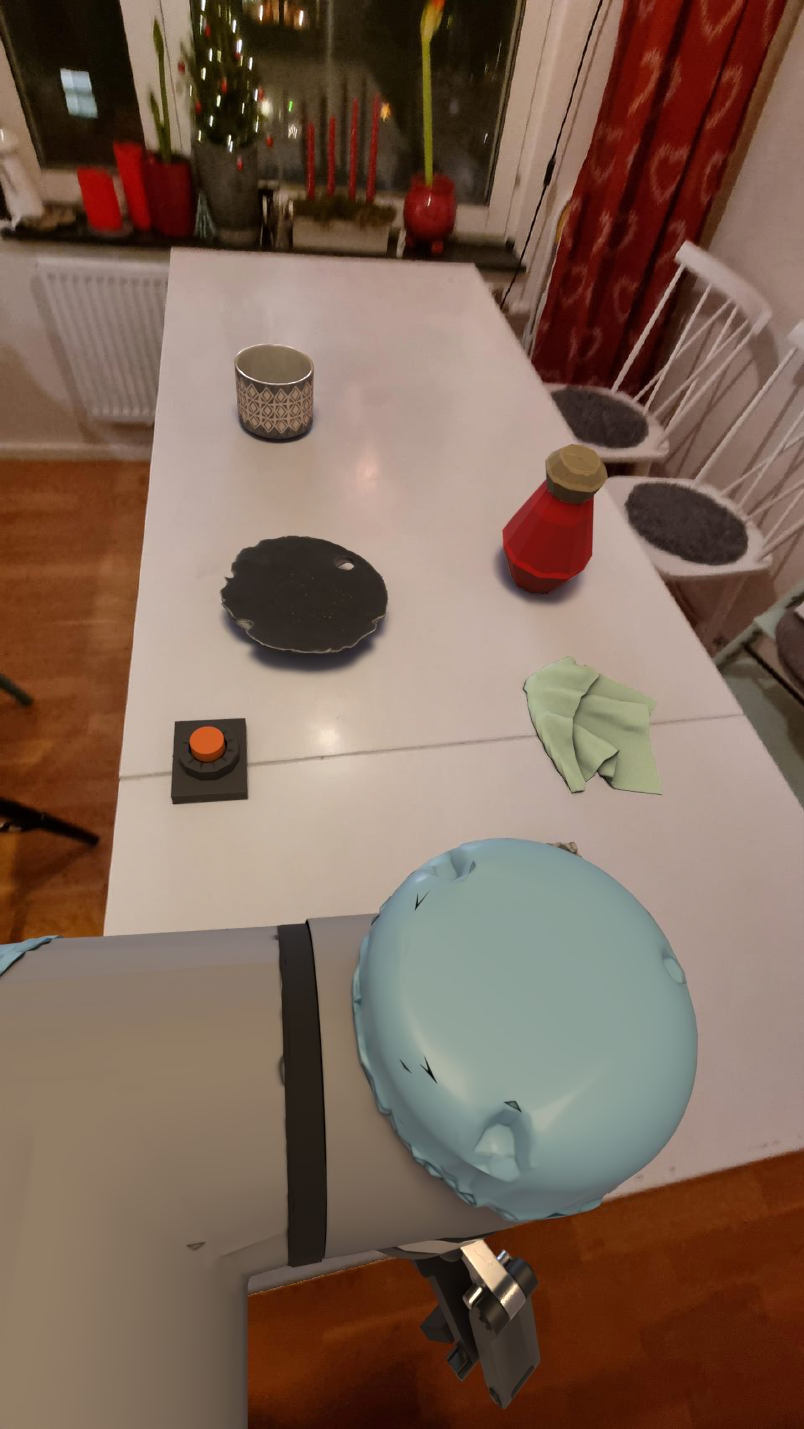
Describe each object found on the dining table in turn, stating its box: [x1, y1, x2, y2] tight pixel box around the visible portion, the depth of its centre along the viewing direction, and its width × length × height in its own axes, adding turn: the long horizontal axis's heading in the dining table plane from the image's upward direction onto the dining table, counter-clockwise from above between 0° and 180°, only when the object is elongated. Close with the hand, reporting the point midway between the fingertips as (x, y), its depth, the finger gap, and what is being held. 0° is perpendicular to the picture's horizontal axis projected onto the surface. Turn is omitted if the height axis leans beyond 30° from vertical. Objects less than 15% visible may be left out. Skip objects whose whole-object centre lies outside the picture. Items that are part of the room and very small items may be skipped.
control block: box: [170, 717, 249, 805], centre depth 78 cm, size 10×8×4 cm
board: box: [219, 535, 389, 654], centre depth 93 cm, size 22×22×5 cm
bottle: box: [501, 443, 609, 596], centre depth 98 cm, size 16×14×20 cm
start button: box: [190, 727, 225, 762], centre depth 76 cm, size 4×4×2 cm
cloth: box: [522, 655, 663, 796], centre depth 88 cm, size 20×22×2 cm
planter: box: [233, 343, 315, 440], centre depth 117 cm, size 13×13×10 cm
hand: (366, 1198), depth 42 cm, fingers open, 13 cm apart
